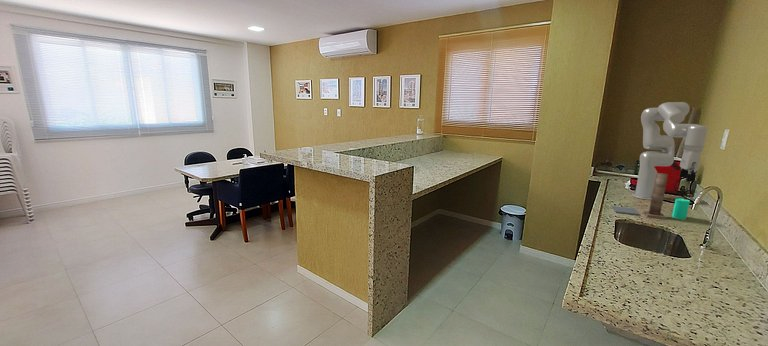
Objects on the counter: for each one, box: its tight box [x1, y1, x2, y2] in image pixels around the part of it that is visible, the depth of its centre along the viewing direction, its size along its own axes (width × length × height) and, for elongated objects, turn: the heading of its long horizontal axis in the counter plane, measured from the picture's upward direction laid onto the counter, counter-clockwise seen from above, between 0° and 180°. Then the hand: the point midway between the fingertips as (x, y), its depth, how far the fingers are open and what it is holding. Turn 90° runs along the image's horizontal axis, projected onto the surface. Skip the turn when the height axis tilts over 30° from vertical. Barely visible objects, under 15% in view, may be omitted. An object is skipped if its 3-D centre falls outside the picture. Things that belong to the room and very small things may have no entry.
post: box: [642, 172, 669, 220], centre depth 178 cm, size 8×8×25 cm
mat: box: [611, 205, 640, 216], centre depth 188 cm, size 11×11×1 cm
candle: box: [671, 198, 691, 220], centre depth 177 cm, size 6×6×12 cm
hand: (686, 179), depth 173 cm, fingers open, 9 cm apart
